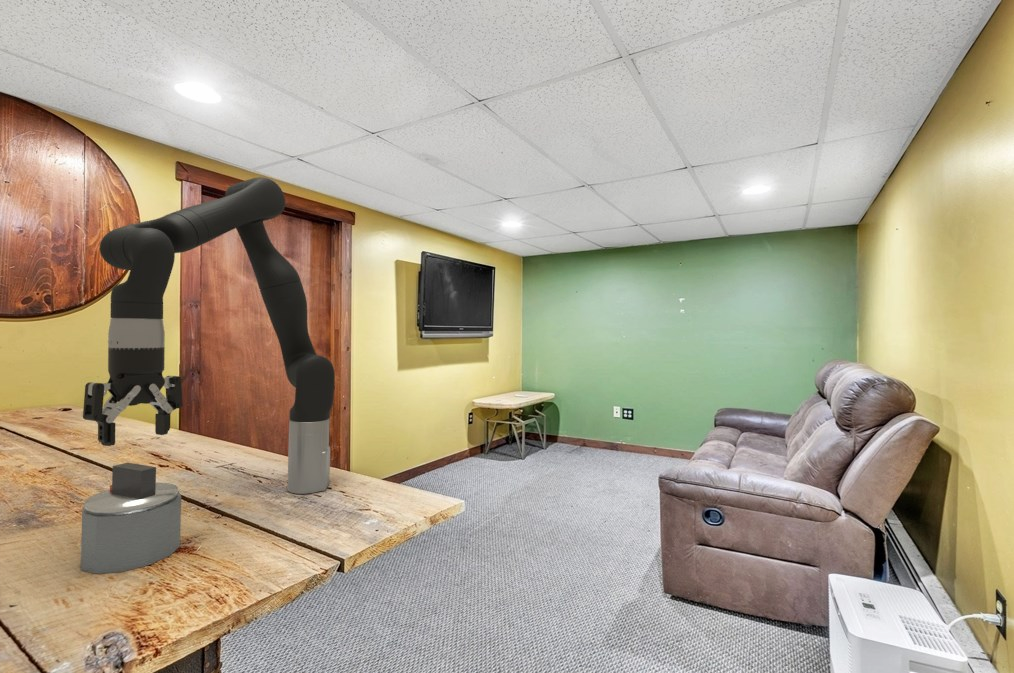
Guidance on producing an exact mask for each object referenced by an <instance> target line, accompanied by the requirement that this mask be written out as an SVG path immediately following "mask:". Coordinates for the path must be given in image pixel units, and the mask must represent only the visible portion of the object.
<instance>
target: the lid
mask: <svg viewBox="0 0 1014 673" xmlns="http://www.w3.org/2000/svg"><path fill="white" fill-rule="evenodd" d="M111 474H112V478H111V479H112V480H111V481H112V482H111V484H110V485H109V489H107V490H103V491H100V492H97V493H95V494H93V495H91V496H89V497H88V498H87V499H86V500H85V501H84V506H85V512H86V513H88V514H91V515H100V516H109V515H122V514H130V513H135V512H140V511H145V510H149V509H153V508H156V507H159V506H162V505H165V504H167V503H169V502H171V501H173V500H174V499H175V498H176V497H177V496H178V491H179V488H178V486H177V485H176V484H173V483H170V482H169V483H168V482H156V481H157V467H156V466H150V465H145V464H140V463H132V462H125V463H124V462H123V463H120V464H116V465H112V472H111Z"/></svg>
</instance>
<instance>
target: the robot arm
mask: <svg viewBox="0 0 1014 673" xmlns="http://www.w3.org/2000/svg"><path fill="white" fill-rule="evenodd" d="M224 195H225V196H222V197H220V198H217V199H213V200H210V201H209V200H208V201H206V202H202V203H198V204H194V205H191V206H187V207H185V208H181V209H180V210H176V211H173V212H170V213H169V214H166V215H164V216H162V217H158V218H154V219H151V220H146V221H141V222H136V223H133V224H132V223H131V224H128V225H123V226H121V227H118V228H114V229H112V230H110V231H109V232H107V233H106V234H105V235H104V236H103V237H102V239H101V241H100V244H99V252H100V256H101V257H102V259H103V260H104V262H106V263H107V264H108V265H110V266H112V268H113V267H114V268H116V269H119V270H123V271H124V270H125V271H129V273H128V276H127V278H126V280H125V281H124V282H122V283H119V284H117V285H115V286H113V288H112V289H111V292H110V321H109V325H108V326H109V327H108V333H107V335H108V336H107V337H108V338H107V343H108V344H107V347H108V348H107V354H108V355H107V366H108V367H107V372H108V374H109V378H108V381H107V382H105V383H104V382H102V383H101V382H87V383H86V384H85V386H84V397H83V410H82V418H83V420H84V421H91V422H95V423H97V441H98V443H100V444H101V445H102V446H104V447H105V446H106V447H110V446H115V445H116V422H115V420H116V419H117V417H118V416H119V415H120V414H121V413H122V412H124V411H125V410H126V409H127V407H128V406H129V407H132V406H137V405H140V404H142V405H143V404H144V405H145V404H146V405H147V404H148V405H150V406H152V408H153V409H155V411H156V412H157V413H155V418H154V422H155V424H154V425H155V426H154V427H155V428H154V430H155V431H154V432H155V434H156V435H158V436H159V435H160V436H164V435H168V434H169V431H170V429H171V413H172V412H173V411H175V410H176V409H180V408H182V407H183V388H182V387H183V386H182V377H181V376H179V375H177V376H176V375H166V376H165V377H164V376H163V372H164V371H165V358H166V357H165V352H166V350H165V349H166V348H165V342H166V341H165V340H166V338H165V335H166V334H165V326H164V295H165V292H166V290H167V287H168V283H169V281H170V277H171V274H172V271H173V268H174V264H175V259H176V258H175V256H176V254H179V253H180V254H181V253H185V252H188V251H191V250H193V249H196V248H198V247H200V246H202V245H205V244H207V243H208V242H210V241H212V240H215V239H216V238H217V239H218V238H219V237H221V236H222V235H224V234H227V233H228V232H231V231H233V230H235V229H236V231H237V234H238V235H239V237H240V239H241V243H242V244H243V246H244V249H245V252H246V254H247V257H248V260H249V262H250V265H251V268H252V271H253V272H254V276H255V279H256V283H257V286H258V289H259V291H260V295H261V298H262V301H263V303H264V306H265V309H266V311H267V313H268V317H269V319H270V322H271V326H272V327H273V330H274V331H275V335H276V337H277V341H278V343H279V347H280V351H281V355H282V360H283V365H284V369H285V374H286V377H287V380H288V382H289V383H290V384H291V385H292V386H293V387H294V388H295V393H294V403H293V406H292V407H291V408H290V409H289V419H288V420H289V422H288V423H289V425H288V426H289V427H288V455H287V482H286V483H287V485H286V487H287V491H288V493H291V494H296V495H298V494H299V495H301V494H302V495H304V494H313V493H318V492H325V491H326V490H327V488H328V486H329V485H330V479H331V478H330V477H331V476H330V475H331V474H330V472H331V446H330V445H329V444H330V422H331V421H330V420H331V419H330V417H331V416H330V414H331V410H332V408H333V406H334V395H335V383H336V382H335V378H336V377H335V375H336V374H335V369H334V368H335V367H334V366H333V364H332V363H333V362H331V361H330V360H329V359H328V358H327V357H325V356H322V355H320V354H317V352H316V350H315V347H314V345H313V342H312V340H311V338H310V337H311V336H310V333H309V329H308V328H309V326H308V301H307V297H306V293H305V290H304V287H303V283H302V280H301V276H300V275H299V273H298V271H297V270H296V268H295V267H294V266H293V264H291V262H289V260H287V259H286V257H284V256H283V255H282V254H281V253H280V252H279V251H278V250H277V248H276V247H275V246H274V245H273V242H272V241H271V239H270V238H269V234H268V232H267V230H266V226H265V223H264V222H265V221H268V220H272V219H275V218H277V217H278V216H280V215H281V214H283V212H284V211H285V207H286V197H285V193H284V192H283V190H282V188H281V186H280V185H279V184H278V183H277V182H275V181H274V180H273V179H271V178H268V177H262V176H261V177H252V178H248V179H246V180H243V181H241V182H237V183H234V184H231V185H230V186H228V187H227V189H226V191H225V194H224ZM163 387H164V388H165V395H164V394H163V393H162V389H163ZM108 392H109V394H110V396H109V397H108V399H107V400H106V401H105V403H104V397H105V396H106V395H107V394H108Z"/></svg>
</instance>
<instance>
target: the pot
mask: <svg viewBox="0 0 1014 673" xmlns="http://www.w3.org/2000/svg"><path fill="white" fill-rule="evenodd" d="M181 518H182V495H181V492H180V490H178V496H177V497H176V498H175V499H174V500H173V501H171V502H169V503H167V504H165V505H162V506H159V507H156V508H153V509H149V510H145V511H140V512H135V513H130V514H122V515H109V516H100V515H91V514H88V513H86V512H85V505H84V506H82V512H81V541H80V542H81V544H80V545H81V546H80V549H81V550H80V571H84V572H87V573H91V574H94V575H100V574H112V573H116V574H117V573H122V572H127V571H132V570H135V569H140V568H143V567H146V566H149V565H152V564H154V563H157V562H159V561H161V560H164V559H165V558H169V557H170V556H171V555H173V554H174V552H176V551H177V550H178V549H179V548H180V547H181V521H182V519H181Z"/></svg>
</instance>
